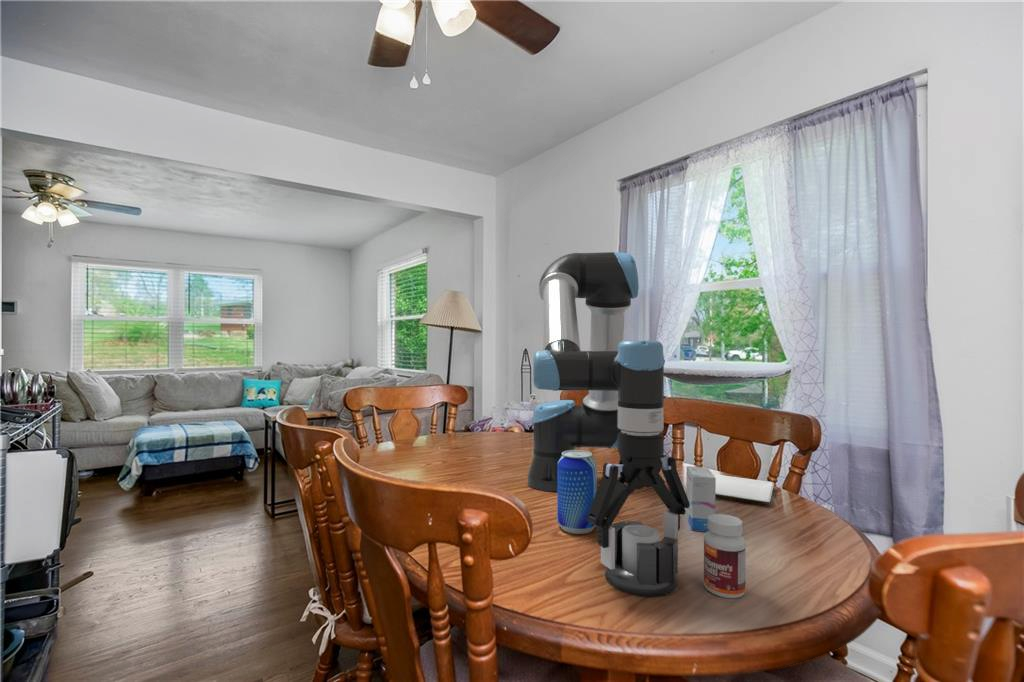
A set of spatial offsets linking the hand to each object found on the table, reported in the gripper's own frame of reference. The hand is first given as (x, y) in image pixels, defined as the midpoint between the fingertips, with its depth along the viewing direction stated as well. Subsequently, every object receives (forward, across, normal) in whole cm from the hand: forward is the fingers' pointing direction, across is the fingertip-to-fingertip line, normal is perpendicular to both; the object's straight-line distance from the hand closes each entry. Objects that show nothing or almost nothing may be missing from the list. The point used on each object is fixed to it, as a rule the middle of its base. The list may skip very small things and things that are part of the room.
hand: (640, 557), depth 80 cm
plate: (+4, +54, +26) cm, 60 cm away
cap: (+2, 0, 0) cm, 2 cm away
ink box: (+4, +28, +13) cm, 31 cm away
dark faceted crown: (+4, 0, 0) cm, 4 cm away
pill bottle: (+4, +10, -9) cm, 14 cm away
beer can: (+4, +3, +23) cm, 24 cm away
